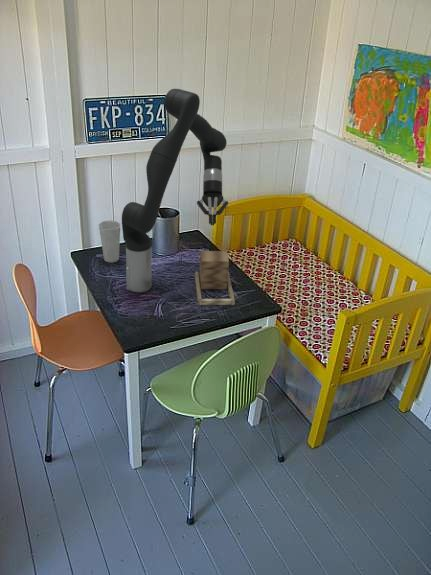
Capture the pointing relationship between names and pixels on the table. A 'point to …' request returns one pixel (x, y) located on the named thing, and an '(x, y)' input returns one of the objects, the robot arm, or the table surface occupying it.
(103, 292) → the table surface
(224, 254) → the brown wooden block
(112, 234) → the cup
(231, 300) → the tray
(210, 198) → the robot arm
